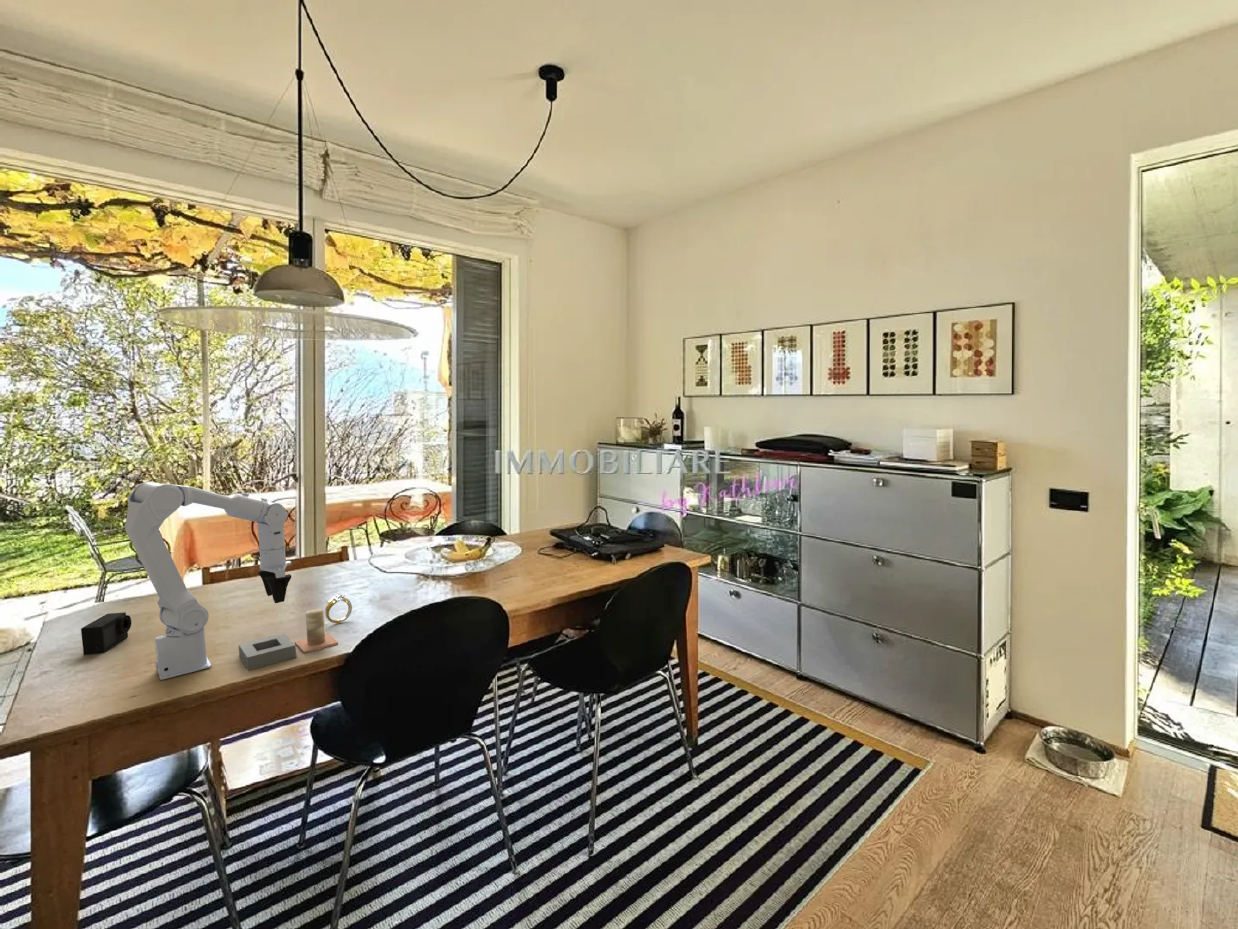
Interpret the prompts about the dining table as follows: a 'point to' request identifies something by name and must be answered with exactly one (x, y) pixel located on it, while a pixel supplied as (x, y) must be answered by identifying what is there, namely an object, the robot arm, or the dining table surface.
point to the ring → (335, 599)
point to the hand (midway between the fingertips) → (275, 598)
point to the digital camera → (105, 633)
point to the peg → (315, 627)
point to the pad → (308, 648)
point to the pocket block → (267, 651)
